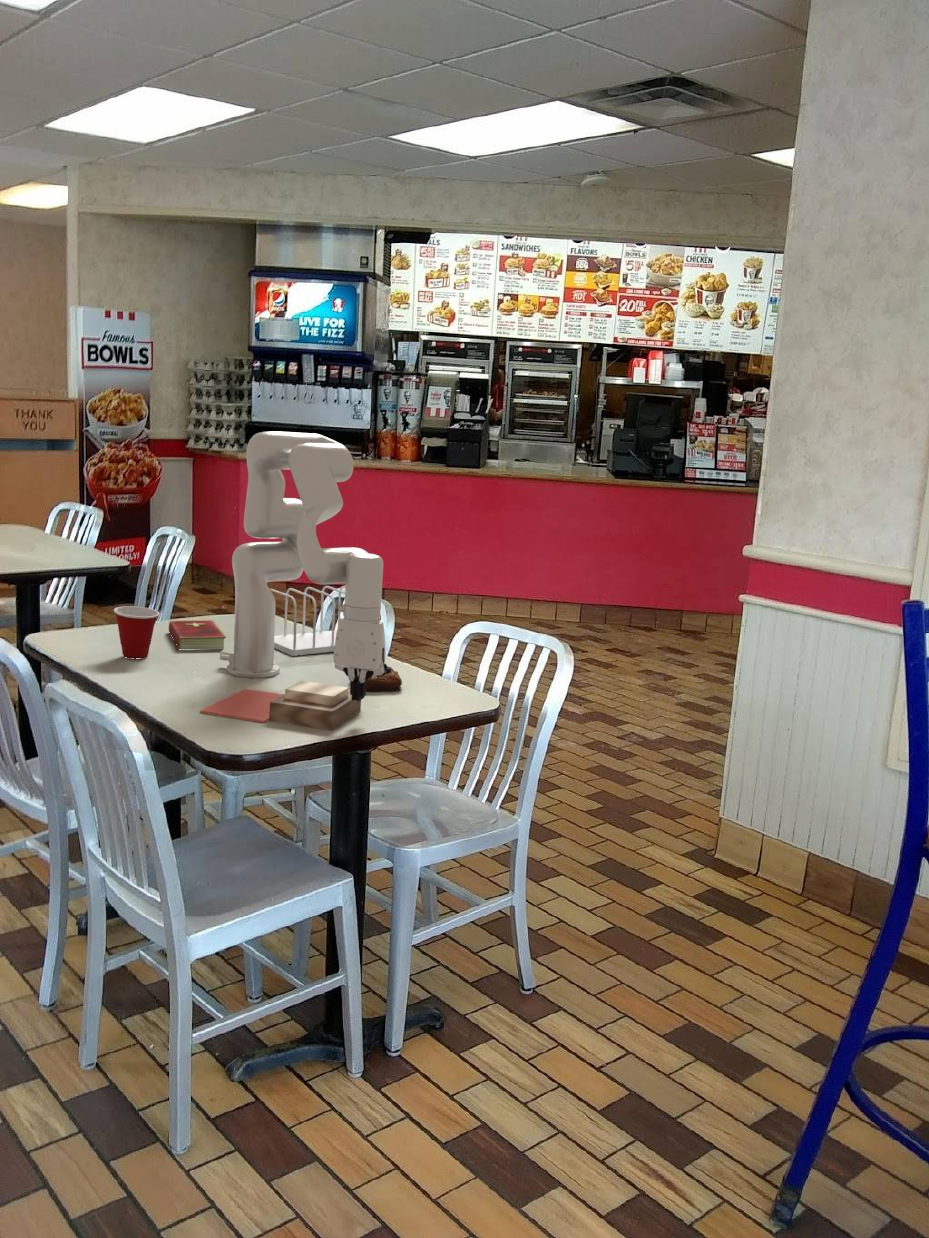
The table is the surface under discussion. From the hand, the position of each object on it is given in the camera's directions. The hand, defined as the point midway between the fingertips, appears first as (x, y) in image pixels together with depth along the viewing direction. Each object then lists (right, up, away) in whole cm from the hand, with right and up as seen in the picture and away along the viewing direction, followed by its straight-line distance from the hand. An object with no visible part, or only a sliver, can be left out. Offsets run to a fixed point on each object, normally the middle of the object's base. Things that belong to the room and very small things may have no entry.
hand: (357, 698), depth 224 cm
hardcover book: (-50, +10, +63) cm, 81 cm away
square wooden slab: (-9, -4, +3) cm, 11 cm away
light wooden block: (-9, 0, +3) cm, 9 cm away
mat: (-23, -2, +7) cm, 24 cm away
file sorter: (-18, +9, +68) cm, 71 cm away
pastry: (+1, 0, +30) cm, 30 cm away
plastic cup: (-59, +7, +41) cm, 73 cm away
